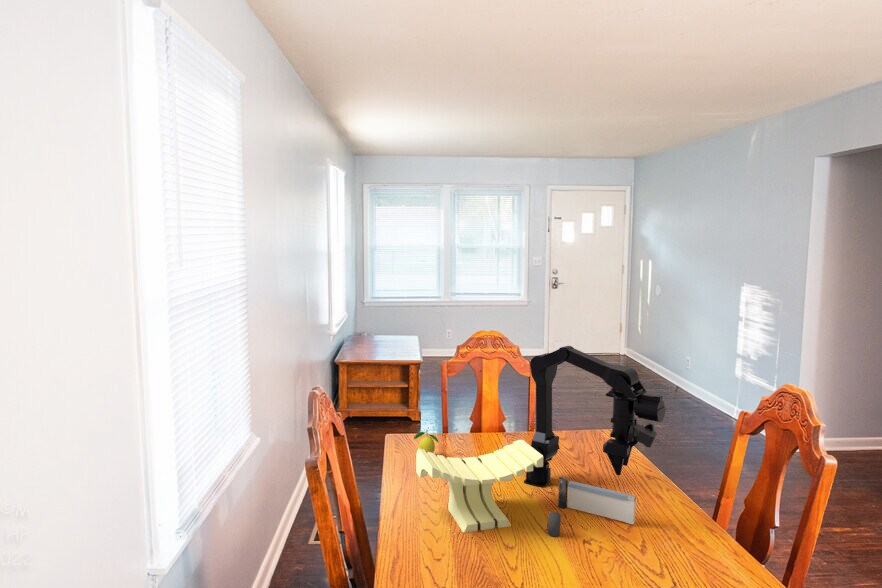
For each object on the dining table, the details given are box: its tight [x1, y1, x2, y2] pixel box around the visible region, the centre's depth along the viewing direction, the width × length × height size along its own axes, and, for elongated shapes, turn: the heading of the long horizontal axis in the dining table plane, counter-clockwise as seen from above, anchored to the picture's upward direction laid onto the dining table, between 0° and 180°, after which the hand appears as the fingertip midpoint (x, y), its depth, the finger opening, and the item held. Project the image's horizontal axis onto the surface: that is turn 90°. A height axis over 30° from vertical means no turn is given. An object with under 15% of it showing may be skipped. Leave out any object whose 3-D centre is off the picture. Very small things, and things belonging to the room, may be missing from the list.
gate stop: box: [547, 511, 562, 538], centre depth 142 cm, size 3×3×5 cm
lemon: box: [413, 430, 439, 454], centre depth 192 cm, size 7×6×10 cm
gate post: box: [557, 476, 569, 510], centre depth 157 cm, size 2×2×8 cm
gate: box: [567, 480, 637, 525], centre depth 152 cm, size 18×2×7 cm, turn 59°
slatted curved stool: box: [415, 439, 543, 533], centre depth 151 cm, size 30×16×18 cm, turn 107°
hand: (621, 470), depth 156 cm, fingers open, 8 cm apart
